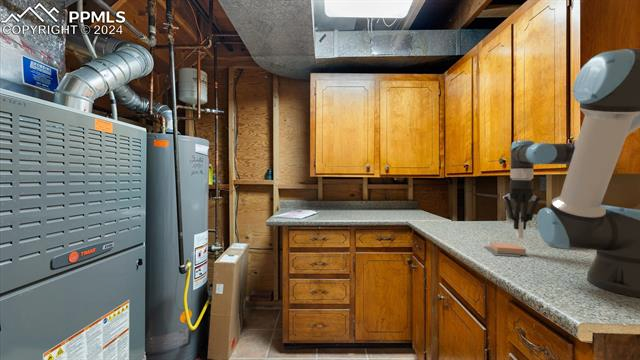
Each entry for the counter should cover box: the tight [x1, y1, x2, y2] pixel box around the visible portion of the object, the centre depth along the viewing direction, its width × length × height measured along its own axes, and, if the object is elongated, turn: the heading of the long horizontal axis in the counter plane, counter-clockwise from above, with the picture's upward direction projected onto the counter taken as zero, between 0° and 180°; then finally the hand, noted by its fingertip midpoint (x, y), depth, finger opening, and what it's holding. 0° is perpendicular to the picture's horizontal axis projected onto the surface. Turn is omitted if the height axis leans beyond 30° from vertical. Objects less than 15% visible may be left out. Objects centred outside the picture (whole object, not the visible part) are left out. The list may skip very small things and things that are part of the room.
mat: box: [483, 246, 522, 258], centre depth 112 cm, size 12×9×1 cm
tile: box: [489, 241, 527, 256], centre depth 112 cm, size 8×2×10 cm
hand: (519, 237), depth 111 cm, fingers closed
